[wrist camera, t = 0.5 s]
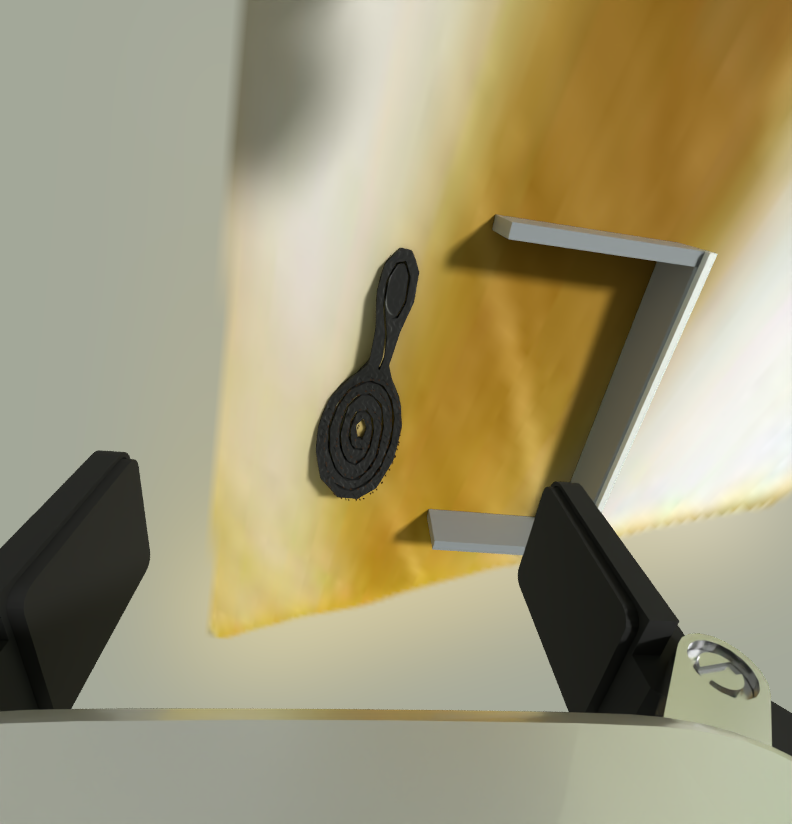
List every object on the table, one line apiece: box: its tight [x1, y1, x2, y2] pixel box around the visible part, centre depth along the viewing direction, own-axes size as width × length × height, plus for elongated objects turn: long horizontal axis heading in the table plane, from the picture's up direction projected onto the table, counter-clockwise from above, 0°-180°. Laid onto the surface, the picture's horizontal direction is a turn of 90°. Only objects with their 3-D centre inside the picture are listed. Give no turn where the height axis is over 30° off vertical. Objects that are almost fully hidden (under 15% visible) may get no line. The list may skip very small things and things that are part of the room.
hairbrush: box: [316, 248, 419, 501], centre depth 44 cm, size 8×4×25 cm
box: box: [427, 215, 717, 555], centre depth 45 cm, size 32×16×6 cm, turn 172°
